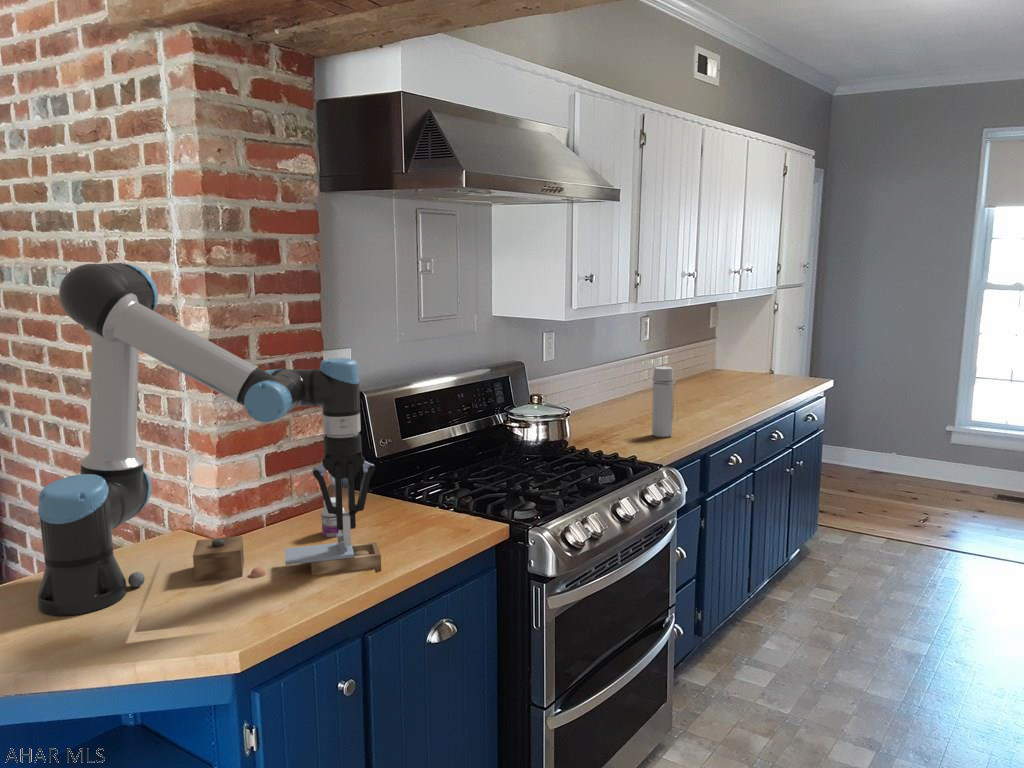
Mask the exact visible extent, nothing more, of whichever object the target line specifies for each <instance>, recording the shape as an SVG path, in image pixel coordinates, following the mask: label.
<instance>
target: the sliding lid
mask: <svg viewBox="0 0 1024 768" xmlns="http://www.w3.org/2000/svg"><path fill="white" fill-rule="evenodd" d="M352 545H353V544H352V543H351V546H345V545H344V539H343V535H342V533H337V542H334V543H333V542H332V543H324V544H316V545H307V546H306V545H305V546H297V547H287V548H284V552H285V555H284V556H285V558H284V559H285V566H292V565H299V564H307V563H311V562H318V561H327V560H336V559H344V558H353V557H354V552H353V548H352Z"/></svg>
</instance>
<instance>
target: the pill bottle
mask: <svg viewBox="0 0 1024 768" xmlns="http://www.w3.org/2000/svg"><path fill="white" fill-rule="evenodd" d="M330 499H331V502H332V505H333V506H335V507H336V498H335V496H333V497H330ZM343 512H346V511H345V508H344V507H343ZM320 517H321V532H322V536H324V537H326V538H336V537H337V533H342V535H343V531H342V530H338V528H337V518H336V515H335V514H329V513H328V511H327V507H326V504H325V501H324V500H323V508H322V509H321V513H320ZM337 538H338V537H337Z"/></svg>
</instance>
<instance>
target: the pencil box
mask: <svg viewBox="0 0 1024 768" xmlns="http://www.w3.org/2000/svg"><path fill="white" fill-rule="evenodd" d="M352 548H353V552H354V557H353V558H344V559H336V560H327V561H318V562H310V568H311V569H310V570H311V575H312V576H315V575H322V574H331V573H340V572H349V571H356V570H363V569H374V571H375V572H382V554H381V552H380V548H379V546H378V543H377V542H376V541H375V542H374V541H371V542H365V543H356V544H355V543H354V544H352ZM358 551H368V552H369V555H361V556H355V553H356V552H358Z"/></svg>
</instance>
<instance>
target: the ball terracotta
mask: <svg viewBox="0 0 1024 768" xmlns="http://www.w3.org/2000/svg"><path fill="white" fill-rule="evenodd" d="M266 574H267V572H266V569H264V568H263V567H261V566H256V567H254V568H253V569H252V570H251V571H250V577H251V578H262V577H264V576H266Z"/></svg>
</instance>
